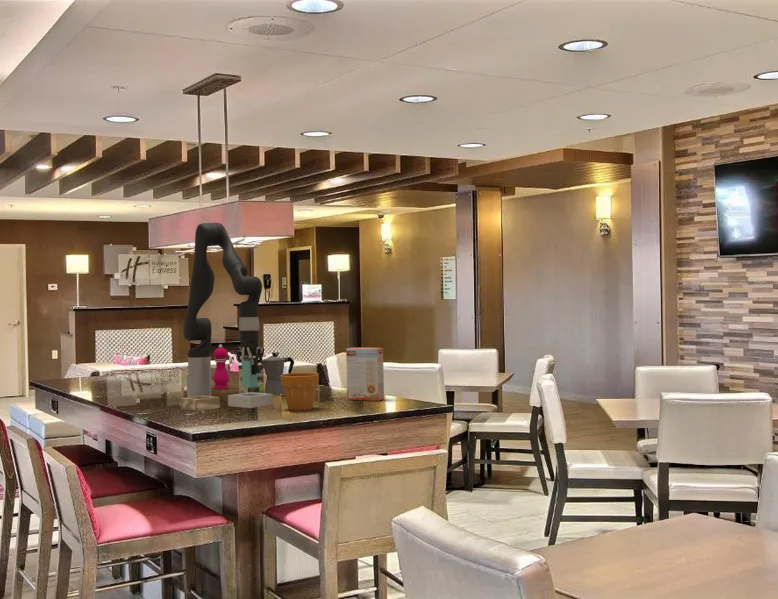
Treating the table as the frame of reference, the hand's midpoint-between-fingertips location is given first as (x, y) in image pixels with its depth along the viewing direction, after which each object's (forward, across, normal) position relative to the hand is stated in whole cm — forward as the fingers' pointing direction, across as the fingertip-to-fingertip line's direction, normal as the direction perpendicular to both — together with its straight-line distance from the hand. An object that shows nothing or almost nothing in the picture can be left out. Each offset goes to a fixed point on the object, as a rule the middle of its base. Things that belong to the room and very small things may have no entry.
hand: (249, 374), depth 345 cm
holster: (+13, -10, -16) cm, 23 cm away
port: (+13, 0, 0) cm, 13 cm away
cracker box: (+13, +23, +41) cm, 49 cm away
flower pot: (+13, +19, +7) cm, 24 cm away
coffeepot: (+13, -21, +36) cm, 44 cm away
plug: (+5, 0, 0) cm, 5 cm away
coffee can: (+13, -18, +18) cm, 29 cm away
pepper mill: (+13, -60, +40) cm, 73 cm away
